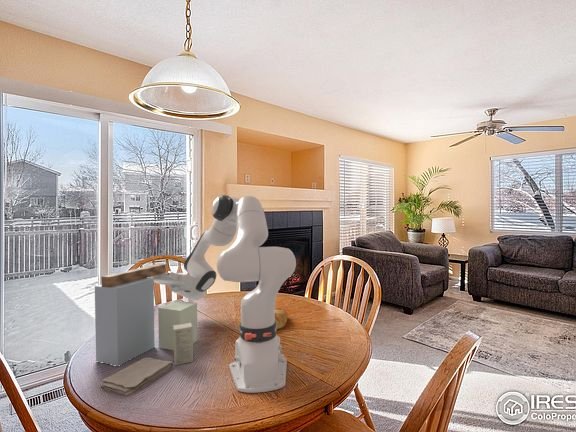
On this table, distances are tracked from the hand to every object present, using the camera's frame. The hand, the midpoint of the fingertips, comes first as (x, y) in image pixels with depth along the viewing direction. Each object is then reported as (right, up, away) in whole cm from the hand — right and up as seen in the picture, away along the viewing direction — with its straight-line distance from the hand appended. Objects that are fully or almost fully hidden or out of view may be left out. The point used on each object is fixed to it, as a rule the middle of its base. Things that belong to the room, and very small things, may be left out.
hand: (159, 272), depth 125 cm
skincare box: (+17, -27, -20) cm, 37 cm away
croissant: (+47, -26, +13) cm, 55 cm away
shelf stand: (-6, -26, -15) cm, 31 cm away
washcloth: (+6, -27, -30) cm, 41 cm away
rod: (-4, 0, -11) cm, 11 cm away
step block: (+10, -26, -7) cm, 29 cm away
